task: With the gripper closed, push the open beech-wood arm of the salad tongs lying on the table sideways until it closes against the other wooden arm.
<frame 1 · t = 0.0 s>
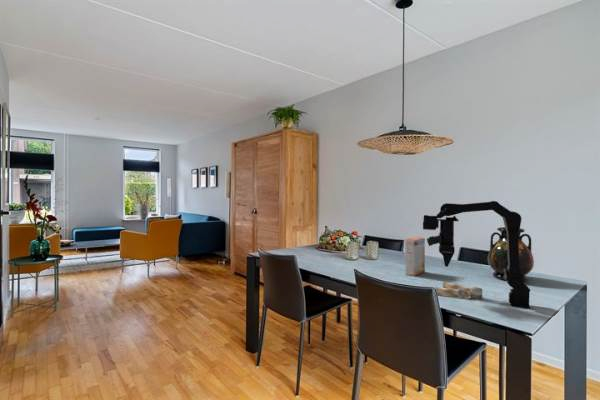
hand: (446, 264, 147), 15 cm above the table, tool pointing down, fingers open, 9 cm apart
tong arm: (461, 289, 150), point 2 cm above the table, hinge at -30.0°
amphora vase: (509, 278, 178), on the table
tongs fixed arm: (475, 297, 145), on the table
cracker box: (415, 273, 189), on the table
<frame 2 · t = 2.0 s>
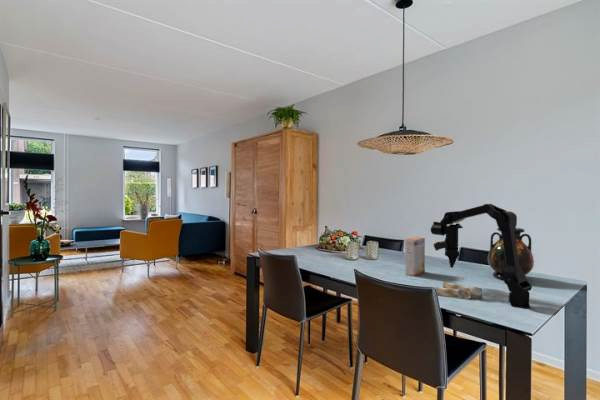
hand: (451, 267, 161), 10 cm above the table, tool pointing down, fingers closed
nothing on the table moved.
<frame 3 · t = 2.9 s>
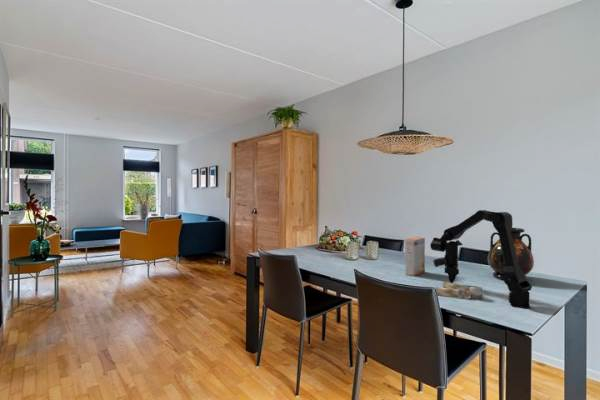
hand: (451, 284, 162), 2 cm above the table, tool pointing down, fingers closed
nothing on the table moved.
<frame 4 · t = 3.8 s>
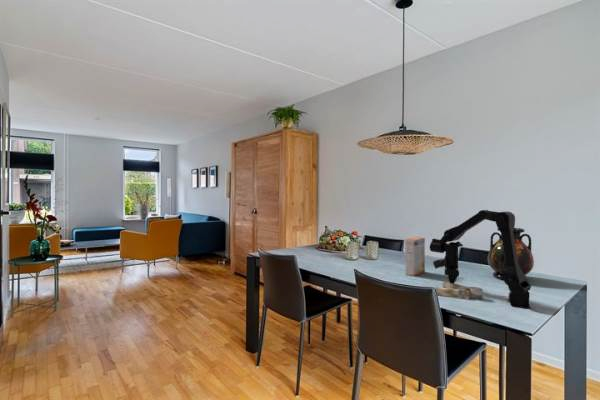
hand: (451, 285, 159), 1 cm above the table, tool pointing down, fingers closed
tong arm: (461, 289, 150), point 2 cm above the table, hinge at -29.9°, touching gripper
everything else where it was.
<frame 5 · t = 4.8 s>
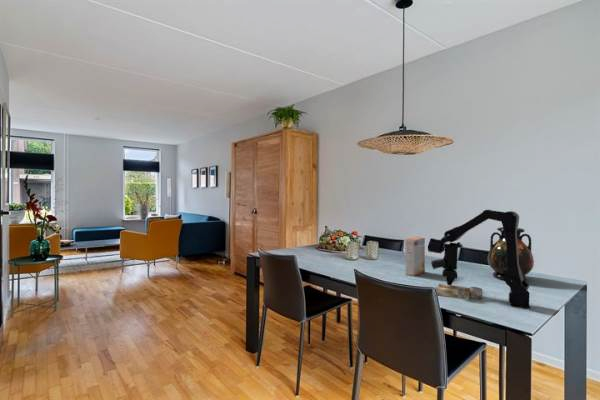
hand: (448, 287, 155), 2 cm above the table, tool pointing down, fingers closed
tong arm: (459, 290, 149), point 2 cm above the table, hinge at -11.0°, touching gripper
everything else where it was.
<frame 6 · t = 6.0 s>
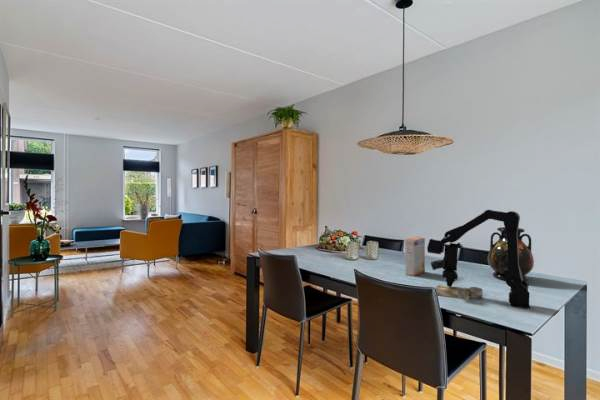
hand: (448, 288, 153), 2 cm above the table, tool pointing down, fingers closed
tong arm: (459, 290, 148), point 2 cm above the table, hinge at 0.6°, touching gripper
everything else where it was.
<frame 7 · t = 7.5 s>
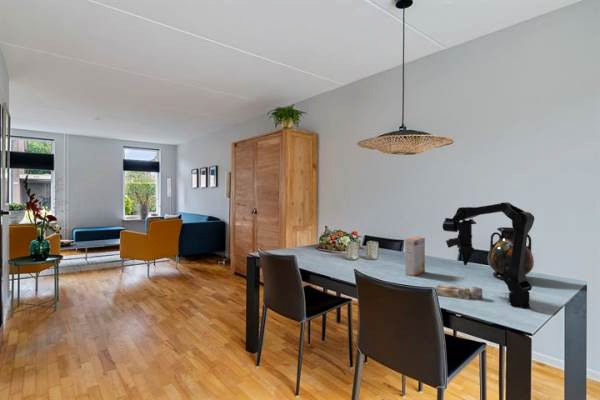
hand: (465, 265, 155), 13 cm above the table, tool pointing down, fingers closed
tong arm: (459, 290, 148), point 2 cm above the table, hinge at 0.7°
everything else where it was.
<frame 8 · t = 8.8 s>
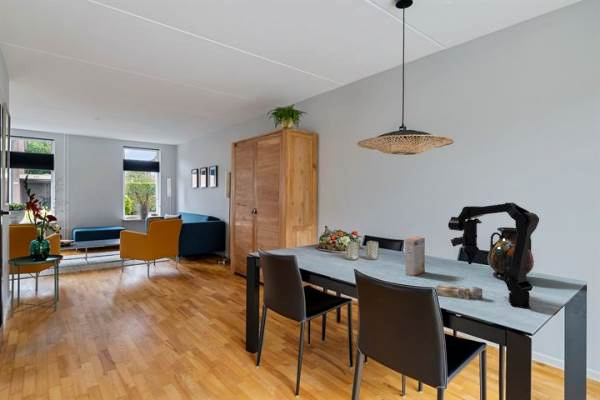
hand: (469, 264, 155), 13 cm above the table, tool pointing down, fingers closed
nothing on the table moved.
at the end: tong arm at +1° (first picture: -30°); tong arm touching nothing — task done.
